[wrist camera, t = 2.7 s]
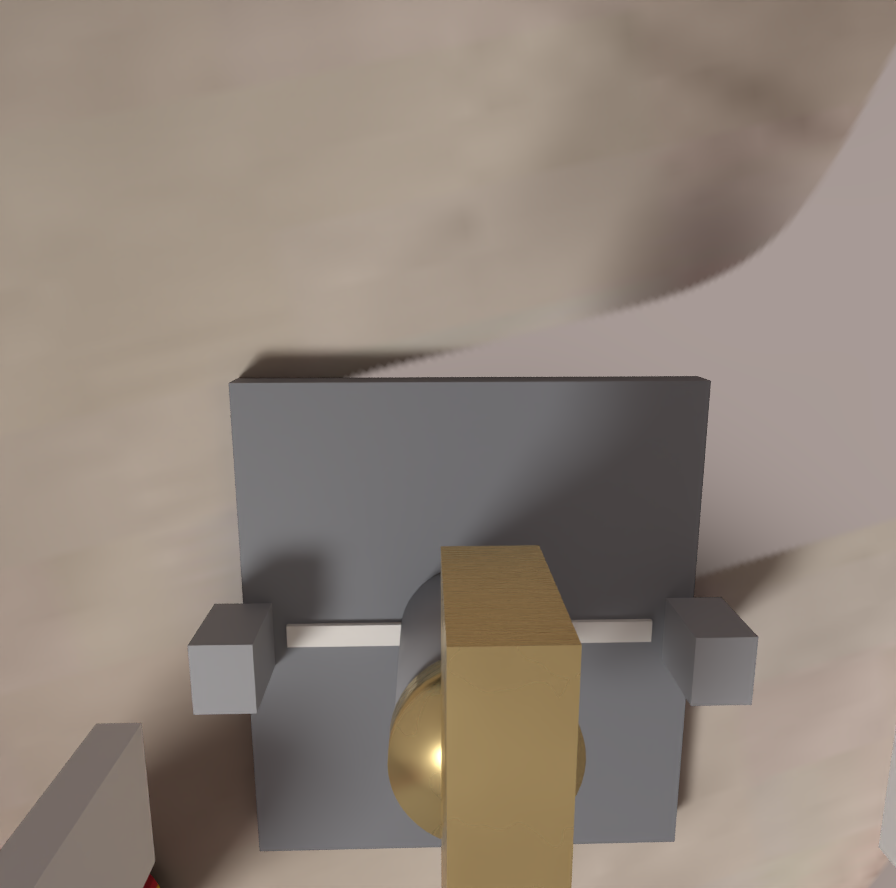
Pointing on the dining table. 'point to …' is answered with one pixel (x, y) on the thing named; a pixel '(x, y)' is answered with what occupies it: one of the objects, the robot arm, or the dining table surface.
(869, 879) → the dining table surface
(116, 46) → the dining table surface
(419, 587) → the grey square base
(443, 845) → the yellow lever handle
